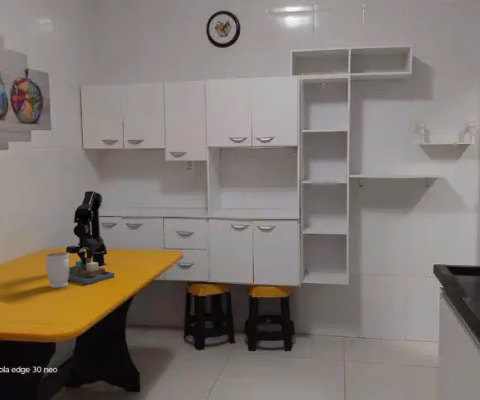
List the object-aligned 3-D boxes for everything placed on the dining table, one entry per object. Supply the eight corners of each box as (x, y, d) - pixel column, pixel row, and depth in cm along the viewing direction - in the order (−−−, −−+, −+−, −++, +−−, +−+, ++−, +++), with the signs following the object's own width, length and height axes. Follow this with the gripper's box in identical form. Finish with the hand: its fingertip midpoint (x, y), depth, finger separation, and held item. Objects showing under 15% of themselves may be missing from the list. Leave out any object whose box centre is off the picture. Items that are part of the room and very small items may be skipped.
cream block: (86, 271, 244) (86, 263, 244) (93, 269, 248) (93, 261, 247) (91, 272, 242) (91, 264, 242) (98, 270, 245) (98, 262, 245)
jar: (75, 283, 238) (73, 252, 237) (61, 289, 228) (59, 257, 227) (57, 282, 242) (55, 251, 240) (42, 287, 232) (40, 256, 230)
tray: (60, 278, 249) (60, 273, 248) (87, 271, 261) (87, 267, 261) (87, 285, 235) (87, 279, 234) (114, 277, 247) (114, 272, 247)
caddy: (69, 271, 250) (68, 257, 249) (83, 267, 256) (82, 254, 255) (91, 276, 239) (90, 261, 238) (105, 272, 245) (104, 258, 244)
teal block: (76, 268, 250) (75, 261, 249) (82, 267, 253) (82, 259, 253) (80, 270, 247) (80, 262, 247) (87, 268, 251) (87, 260, 250)
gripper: (77, 237, 233) (79, 270, 235) (110, 231, 248) (112, 262, 249) (64, 235, 240) (66, 267, 242) (97, 229, 255) (98, 259, 256)
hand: (86, 264), depth 247 cm, fingers closed on caddy, 2 cm apart
